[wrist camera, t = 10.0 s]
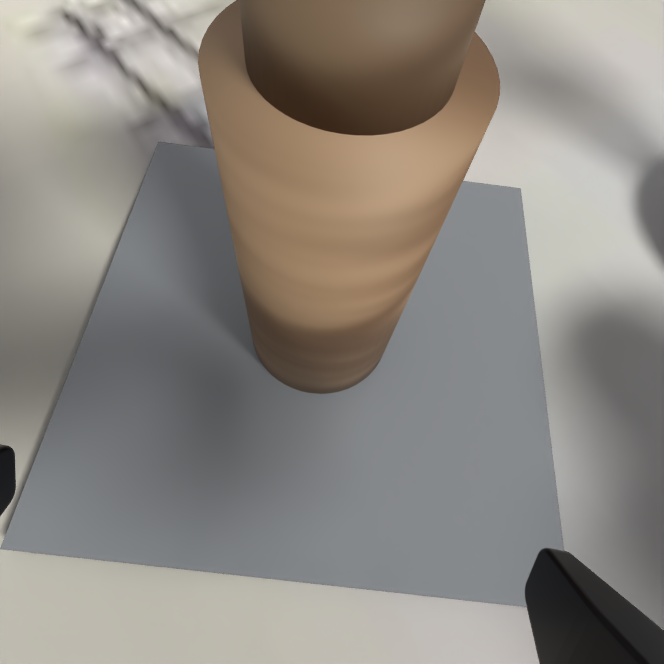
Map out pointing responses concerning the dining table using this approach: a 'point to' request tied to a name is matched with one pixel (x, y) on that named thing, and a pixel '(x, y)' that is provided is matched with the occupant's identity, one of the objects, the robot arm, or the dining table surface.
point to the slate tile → (301, 417)
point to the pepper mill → (340, 164)
